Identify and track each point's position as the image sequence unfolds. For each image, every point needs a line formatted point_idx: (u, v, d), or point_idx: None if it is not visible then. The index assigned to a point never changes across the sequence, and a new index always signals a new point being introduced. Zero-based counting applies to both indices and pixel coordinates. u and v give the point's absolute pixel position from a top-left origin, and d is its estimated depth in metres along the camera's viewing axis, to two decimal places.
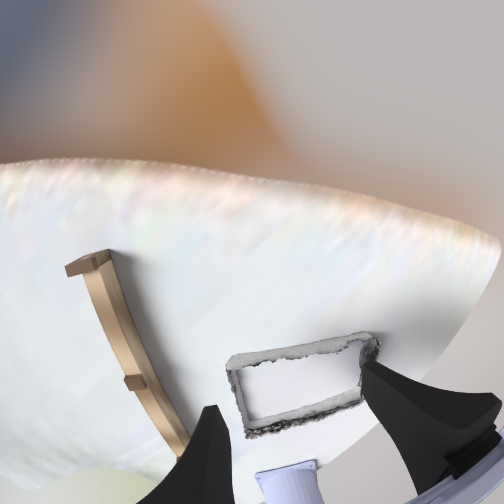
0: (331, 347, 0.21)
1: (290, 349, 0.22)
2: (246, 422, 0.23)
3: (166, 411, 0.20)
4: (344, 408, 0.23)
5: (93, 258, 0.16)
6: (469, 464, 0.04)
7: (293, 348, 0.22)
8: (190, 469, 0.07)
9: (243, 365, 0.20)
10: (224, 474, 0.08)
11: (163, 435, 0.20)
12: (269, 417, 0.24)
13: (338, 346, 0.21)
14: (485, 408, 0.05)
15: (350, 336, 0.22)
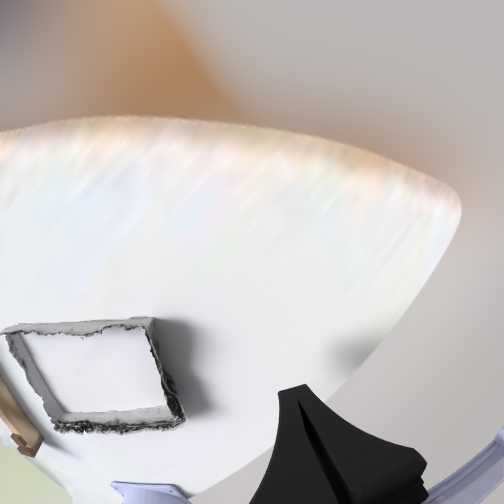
0: (85, 329, 0.13)
1: (54, 325, 0.14)
2: (57, 413, 0.15)
3: None
4: (152, 428, 0.15)
5: None
6: None
7: (56, 325, 0.14)
8: (294, 452, 0.07)
9: None
10: None
11: None
12: (79, 413, 0.16)
13: (92, 329, 0.13)
14: (394, 469, 0.04)
15: (125, 320, 0.15)
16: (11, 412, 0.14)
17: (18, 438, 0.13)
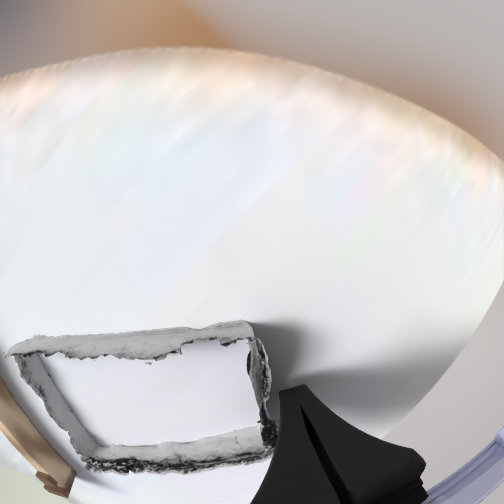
0: (148, 348, 0.09)
1: (89, 341, 0.10)
2: (88, 447, 0.12)
3: (1, 408, 0.09)
4: (231, 463, 0.11)
5: None
6: None
7: (93, 341, 0.10)
8: (295, 451, 0.07)
9: (17, 353, 0.08)
10: None
11: (8, 439, 0.09)
12: (119, 448, 0.12)
13: (162, 348, 0.10)
14: (393, 470, 0.04)
15: (208, 331, 0.11)
16: (35, 448, 0.10)
17: (47, 478, 0.10)
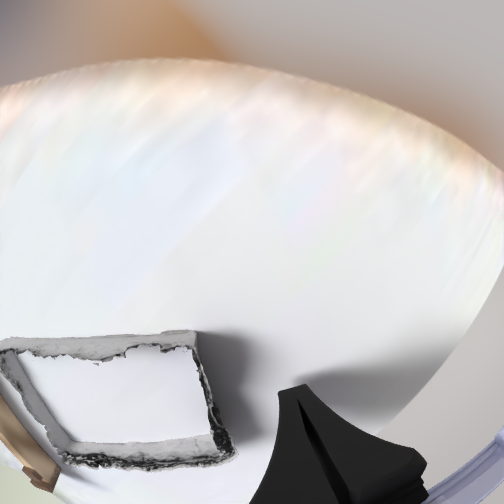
0: (99, 350, 0.09)
1: (55, 341, 0.10)
2: (64, 442, 0.12)
3: None
4: (189, 464, 0.11)
5: None
6: None
7: (58, 341, 0.10)
8: (294, 452, 0.07)
9: None
10: None
11: None
12: (91, 444, 0.12)
13: (111, 351, 0.09)
14: (394, 469, 0.04)
15: (155, 336, 0.11)
16: (21, 444, 0.10)
17: (32, 473, 0.09)
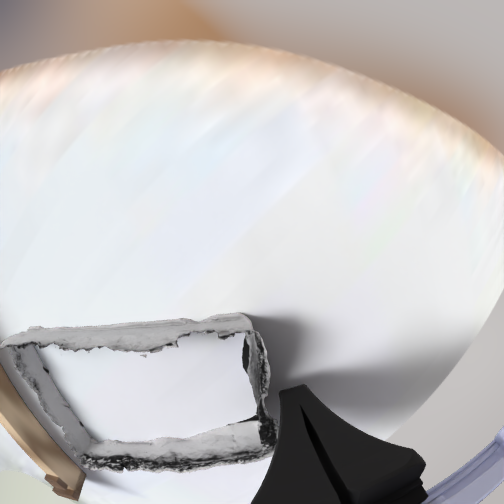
0: (144, 341, 0.09)
1: (85, 333, 0.10)
2: (83, 444, 0.11)
3: (9, 410, 0.09)
4: (228, 461, 0.11)
5: None
6: None
7: (89, 333, 0.10)
8: (295, 451, 0.07)
9: (11, 344, 0.08)
10: None
11: (17, 442, 0.09)
12: (113, 445, 0.12)
13: (158, 340, 0.09)
14: (393, 470, 0.04)
15: (206, 324, 0.11)
16: (45, 450, 0.11)
17: (56, 481, 0.10)
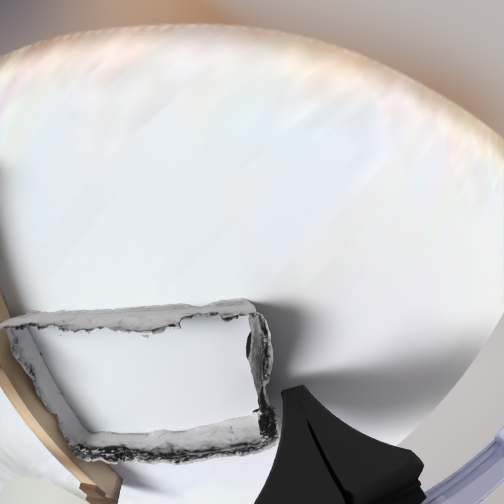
0: (146, 322, 0.09)
1: (85, 316, 0.10)
2: (77, 434, 0.11)
3: (44, 415, 0.10)
4: (226, 453, 0.11)
5: None
6: None
7: (89, 316, 0.10)
8: (298, 450, 0.07)
9: None
10: None
11: (50, 450, 0.09)
12: (108, 435, 0.12)
13: (161, 322, 0.09)
14: (390, 471, 0.04)
15: (209, 308, 0.11)
16: None
17: (95, 490, 0.10)
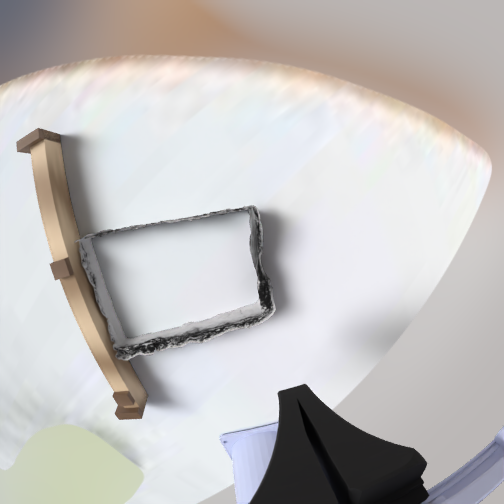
0: None
1: None
2: (120, 339, 0.20)
3: (97, 318, 0.18)
4: (237, 326, 0.19)
5: (41, 129, 0.13)
6: None
7: None
8: (294, 452, 0.07)
9: (88, 237, 0.16)
10: None
11: (94, 354, 0.17)
12: (147, 335, 0.20)
13: None
14: (394, 469, 0.04)
15: (224, 212, 0.19)
16: (120, 362, 0.19)
17: (126, 395, 0.18)
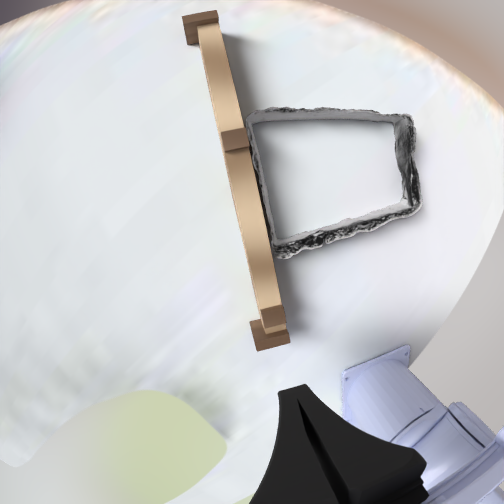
0: None
1: (318, 117, 0.18)
2: (273, 238, 0.19)
3: None
4: (397, 215, 0.19)
5: None
6: None
7: (321, 116, 0.18)
8: (294, 452, 0.07)
9: (267, 112, 0.16)
10: None
11: (250, 254, 0.17)
12: (303, 233, 0.20)
13: (369, 114, 0.17)
14: (394, 469, 0.04)
15: (379, 120, 0.18)
16: None
17: (282, 308, 0.18)
